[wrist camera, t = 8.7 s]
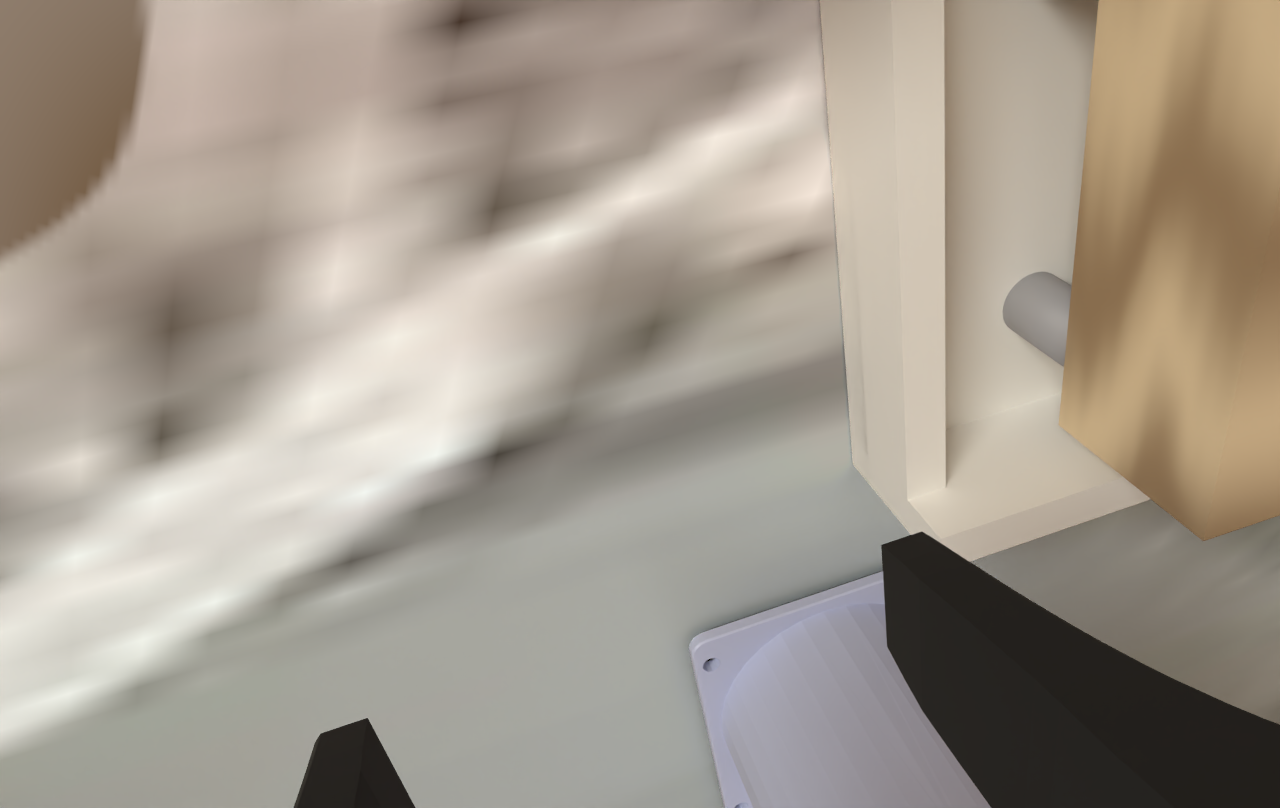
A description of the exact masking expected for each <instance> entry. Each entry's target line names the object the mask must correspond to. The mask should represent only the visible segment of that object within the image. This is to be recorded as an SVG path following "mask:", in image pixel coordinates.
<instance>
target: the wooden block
mask: <svg viewBox="0 0 1280 808" xmlns="http://www.w3.org/2000/svg"><path fill="white" fill-rule="evenodd" d="M1059 426H1060V427H1062V428H1063V429H1064V430H1065V431H1067V432H1068V433H1069V434H1070V435H1072V436H1073V437H1074V438H1075V439H1077V440H1078V441H1079V442H1080V443H1082V444H1083V445H1084V446H1085V447H1087V448H1088V449H1089V450H1090V451H1092V452H1093V453H1094V454H1095V455H1097V456H1098V457H1099V458H1100V459H1101V460H1103V461H1104V462H1105V463H1106V464H1108V465H1109V466H1110V467H1111V468H1113V469H1114V470H1115V471H1116V472H1118V473H1119V474H1120V475H1121V476H1123V477H1124V478H1125V479H1126V480H1128V481H1129V482H1130V483H1131V484H1133V485H1134V486H1135V487H1136V488H1138V489H1139V490H1140V491H1141V492H1143V493H1144V494H1145V495H1146V496H1148V497H1149V498H1150V499H1151V500H1153V501H1154V502H1155V503H1156V504H1158V505H1159V506H1160V507H1161V508H1163V509H1164V510H1165V511H1166V512H1168V513H1169V514H1170V515H1171V516H1173V517H1174V518H1175V519H1176V520H1178V521H1179V522H1180V523H1181V524H1183V525H1184V526H1185V527H1186V528H1188V529H1189V530H1190V531H1191V532H1193V533H1194V534H1195V535H1196V536H1198V537H1199V538H1200V539H1201V540H1203V541H1205V540H1208V539H1211V538H1214V537H1217V536H1220V535H1223V534H1226V533H1229V532H1232V531H1235V530H1238V529H1241V528H1244V527H1247V526H1249V525H1252V524H1255V523H1258V522H1261V521H1264V520H1267V519H1270V518H1273V517H1276V516H1279V515H1280V0H1099V2H1098V13H1097V23H1096V34H1095V44H1094V55H1093V66H1092V76H1091V87H1090V97H1089V108H1088V118H1087V129H1086V140H1085V150H1084V161H1083V171H1082V182H1081V192H1080V203H1079V214H1078V224H1077V235H1076V245H1075V256H1074V266H1073V277H1072V288H1071V298H1070V309H1069V319H1068V330H1067V340H1066V351H1065V362H1064V372H1063V383H1062V393H1061V404H1060V414H1059Z"/></svg>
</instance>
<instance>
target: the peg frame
mask: <svg viewBox="0 0 1280 808" xmlns="http://www.w3.org/2000/svg"><path fill="white" fill-rule="evenodd" d="M819 1H820V15H821V29H822V43H823V56H824V70H825V84H826V98H827V112H828V126H829V140H830V154H831V168H832V182H833V196H834V210H835V224H836V237H837V251H838V265H839V279H840V293H841V307H842V321H843V335H844V349H845V363H846V377H847V391H848V405H849V418H850V432H851V446H852V460H853V465H854V467H855V468H856V469H857V470H858V471H859V473H860V474H861V475H862V476H863V477H864V479H865V480H866V481H867V482H868V483H869V485H870V486H871V487H872V488H873V490H874V491H875V492H876V493H877V494H878V496H879V497H880V498H881V499H882V500H883V502H884V503H885V504H886V505H887V507H888V508H889V509H890V510H891V511H892V513H893V514H894V515H895V516H896V517H897V519H898V520H899V521H900V522H901V523H902V525H903V526H904V527H905V528H906V530H907V531H908V532H909V533H910V534H911V535H913V534H916V533H919V532H924V533H925V534H927V535H929V536H931V537H932V538H934V539H935V540H937V541H938V542H940V543H941V544H943V545H945V546H946V547H948V548H949V549H951V550H952V551H954V552H955V553H957V554H958V555H960V556H961V557H963V558H964V559H966V560H967V561H969V562H970V561H973V560H976V559H979V558H981V557H984V556H987V555H990V554H993V553H996V552H999V551H1002V550H1005V549H1008V548H1011V547H1014V546H1016V545H1019V544H1022V543H1025V542H1028V541H1031V540H1034V539H1037V538H1040V537H1043V536H1046V535H1048V534H1051V533H1054V532H1057V531H1060V530H1063V529H1066V528H1069V527H1072V526H1075V525H1078V524H1081V523H1083V522H1086V521H1089V520H1092V519H1095V518H1098V517H1101V516H1104V515H1107V514H1110V513H1113V512H1115V511H1118V510H1121V509H1124V508H1127V507H1130V506H1133V505H1136V504H1139V503H1142V502H1145V501H1148V500H1150V498H1149V497H1148V496H1146V495H1145V494H1144V493H1143V492H1141V491H1140V490H1139V489H1138V488H1136V487H1135V486H1134V485H1133V484H1131V483H1130V482H1129V481H1128V480H1126V479H1125V478H1124V477H1123V476H1121V475H1120V474H1119V473H1118V472H1116V471H1115V470H1114V469H1113V468H1111V467H1110V466H1109V465H1108V464H1106V463H1105V462H1104V461H1103V460H1101V459H1100V458H1099V457H1098V456H1097V455H1095V454H1094V453H1093V452H1092V451H1090V450H1089V449H1088V448H1087V447H1085V446H1084V445H1083V444H1082V443H1080V442H1079V441H1078V440H1077V439H1075V438H1074V437H1073V436H1072V435H1070V434H1069V433H1068V432H1067V431H1065V430H1064V429H1063V428H1062V427H1060V426H1059V414H1060V404H1061V393H1062V383H1063V372H1064V362H1065V351H1066V340H1067V330H1068V319H1069V309H1070V298H1071V288H1072V277H1073V266H1074V256H1075V245H1076V235H1077V224H1078V214H1079V203H1080V192H1081V182H1082V171H1083V161H1084V150H1085V140H1086V129H1087V118H1088V108H1089V97H1090V87H1091V76H1092V66H1093V55H1094V44H1095V34H1096V23H1097V13H1098V2H1099V0H819Z"/></svg>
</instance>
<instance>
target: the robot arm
mask: <svg viewBox="0 0 1280 808" xmlns="http://www.w3.org/2000/svg"><path fill="white" fill-rule="evenodd" d="M882 563H883V571H881V572H878V573H875V574H873V575H870V576H867V577H864V578H861V579H858V580H855V581H852V582H849V583H846V584H843V585H840V586H837V587H834V588H831V589H828V590H826V591H823V592H820V593H817V594H814V595H811V596H808V597H805V598H802V599H799V600H796V601H793V602H790V603H787V604H784V605H781V606H779V607H776V608H773V609H770V610H767V611H764V612H761V613H758V614H755V615H752V616H749V617H746V618H743V619H740V620H737V621H734V622H732V623H729V624H726V625H723V626H720V627H717V628H714V629H711V630H708V631H705V632H702V633H700V634H698V635H697V636H695V637H694V638H693V639H692V640H691V642H690V644H689V653H690V658H691V662H692V666H693V671H694V675H695V680H696V684H697V689H698V693H699V698H700V702H701V707H702V711H703V716H704V720H705V724H706V729H707V733H708V738H709V742H710V747H711V751H712V756H713V760H714V765H715V769H716V773H717V778H718V782H719V787H720V791H721V796H722V800H723V805H724V808H1280V725H1279V724H1276V723H1274V722H1271V721H1268V720H1266V719H1263V718H1261V717H1258V716H1256V715H1254V714H1251V713H1249V712H1246V711H1244V710H1241V709H1239V708H1237V707H1234V706H1232V705H1230V704H1227V703H1225V702H1223V701H1221V700H1218V699H1216V698H1214V697H1212V696H1210V695H1207V694H1205V693H1203V692H1201V691H1199V690H1196V689H1194V688H1192V687H1190V686H1188V685H1185V684H1183V683H1181V682H1179V681H1177V680H1175V679H1172V678H1170V677H1168V676H1166V675H1164V674H1162V673H1160V672H1158V671H1156V670H1154V669H1152V668H1150V667H1148V666H1146V665H1144V664H1142V663H1140V662H1138V661H1137V660H1135V659H1133V658H1131V657H1129V656H1127V655H1125V654H1123V653H1122V652H1120V651H1118V650H1116V649H1114V648H1112V647H1110V646H1108V645H1107V644H1105V643H1103V642H1101V641H1099V640H1097V639H1096V638H1094V637H1092V636H1090V635H1089V634H1087V633H1085V632H1083V631H1081V630H1080V629H1078V628H1076V627H1074V626H1073V625H1071V624H1069V623H1068V622H1066V621H1064V620H1063V619H1061V618H1059V617H1058V616H1056V615H1054V614H1052V613H1051V612H1049V611H1047V610H1046V609H1044V608H1042V607H1041V606H1039V605H1037V604H1036V603H1034V602H1032V601H1031V600H1029V599H1027V598H1026V597H1024V596H1022V595H1021V594H1019V593H1018V592H1016V591H1014V590H1013V589H1011V588H1010V587H1008V586H1006V585H1005V584H1003V583H1002V582H1000V581H999V580H997V579H995V578H994V577H992V576H991V575H989V574H988V573H986V572H984V571H983V570H981V569H980V568H978V567H977V566H975V565H974V564H972V563H971V562H969V561H967V560H966V559H964V558H963V557H961V556H960V555H958V554H957V553H955V552H954V551H952V550H951V549H949V548H948V547H946V546H945V545H943V544H941V543H940V542H938V541H937V540H935V539H934V538H932V537H931V536H929V535H927V534H925V533H924V532H919V533H916V534H913V535H910V536H907V537H904V538H901V539H898V540H895V541H892V542H889V543H886V544H883V545H882ZM711 658H713V659H711ZM709 659H711V660H710V661H707V660H709ZM294 808H415V806H414V804H413V803H412V801H411V799H410V797H409V795H408V793H407V791H406V789H405V787H404V786H403V784H402V782H401V780H400V778H399V776H398V774H397V772H396V771H395V769H394V767H393V765H392V763H391V761H390V759H389V757H388V756H387V754H386V752H385V750H384V748H383V746H382V744H381V742H380V741H379V739H378V737H377V735H376V733H375V731H374V729H373V727H372V725H371V724H370V722H369V720H368V718H366V719H363V720H360V721H357V722H354V723H351V724H348V725H345V726H342V727H339V728H336V729H333V730H330V731H327V732H324V733H321V734H320V736H319V737H318V739H317V740H316V742H315V745H314V748H313V751H312V754H311V757H310V760H309V764H308V767H307V770H306V773H305V776H304V779H303V782H302V785H301V788H300V791H299V794H298V797H297V800H296V803H295V805H294Z"/></svg>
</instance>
